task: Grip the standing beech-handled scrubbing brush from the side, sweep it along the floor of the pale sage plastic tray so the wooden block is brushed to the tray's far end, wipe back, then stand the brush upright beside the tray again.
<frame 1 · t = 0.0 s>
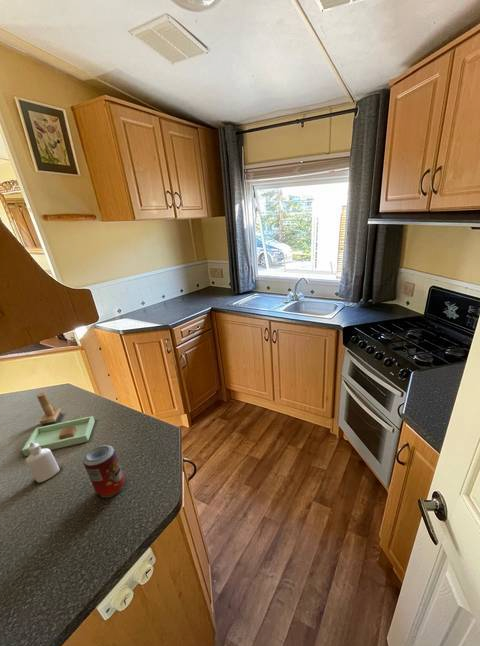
soda can: (112, 488, 77), on the countertop
tray: (62, 437, 97), on the countertop
eye dropper bottle: (48, 475, 82), on the countertop
wooden block: (68, 434, 98), point 1 cm above the countertop, touching tray
brush: (53, 421, 106), on the countertop
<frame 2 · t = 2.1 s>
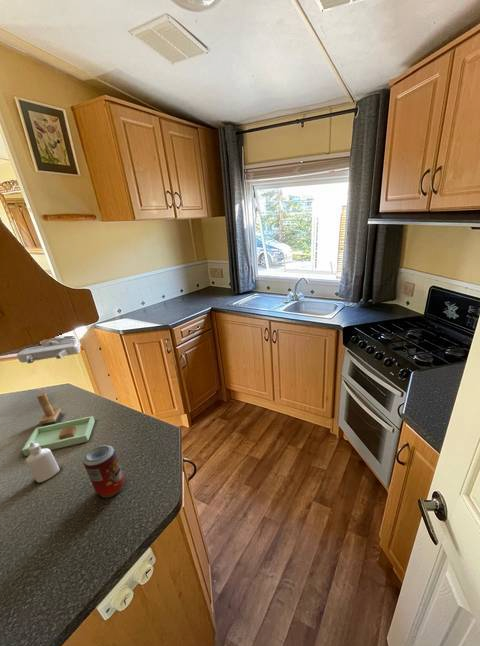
hand: (43, 359, 108), 20 cm above the countertop, tool horizontal, fingers open, 8 cm apart
nothing on the countertop moved.
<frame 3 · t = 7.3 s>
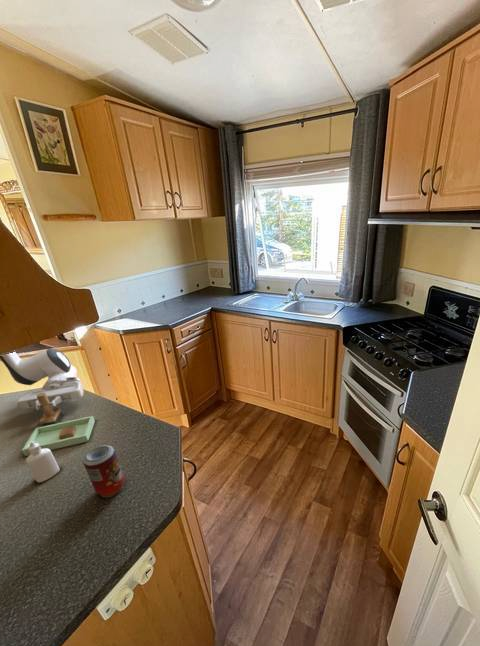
hand: (45, 406, 102), 7 cm above the countertop, tool horizontal, fingers closed on brush, 2 cm apart
brush: (53, 421, 106), on the countertop, touching gripper
everything else where it was.
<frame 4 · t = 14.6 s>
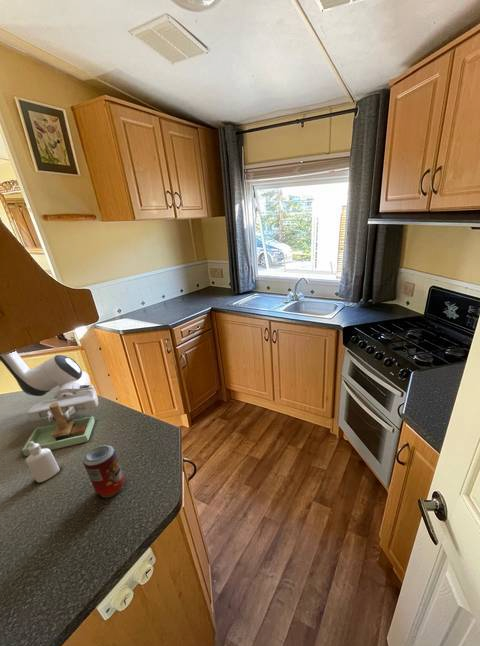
hand: (58, 418, 94), 8 cm above the countertop, tool horizontal, fingers closed on brush, 2 cm apart
wooden block: (80, 431, 99), point 1 cm above the countertop, touching tray
brush: (66, 434, 97), point 1 cm above the countertop, touching gripper
everything else where it was.
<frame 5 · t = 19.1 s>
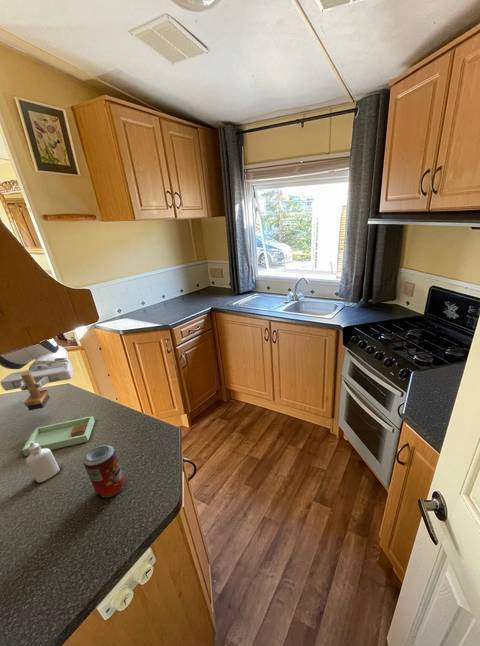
hand: (30, 387, 95), 17 cm above the countertop, tool horizontal, fingers closed on brush, 2 cm apart
brush: (39, 403, 98), point 10 cm above the countertop, touching gripper
everything else where it was.
when the fingers open (7 cm above the countertop, at t = 22.7 s): brush stays where it is, on the countertop.
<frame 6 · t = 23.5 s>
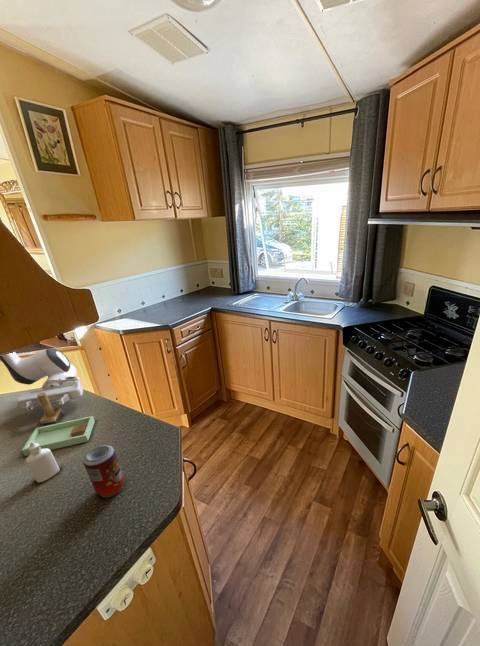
hand: (44, 406, 102), 7 cm above the countertop, tool horizontal, fingers open, 8 cm apart
brush: (53, 421, 106), on the countertop
everything else where it was.
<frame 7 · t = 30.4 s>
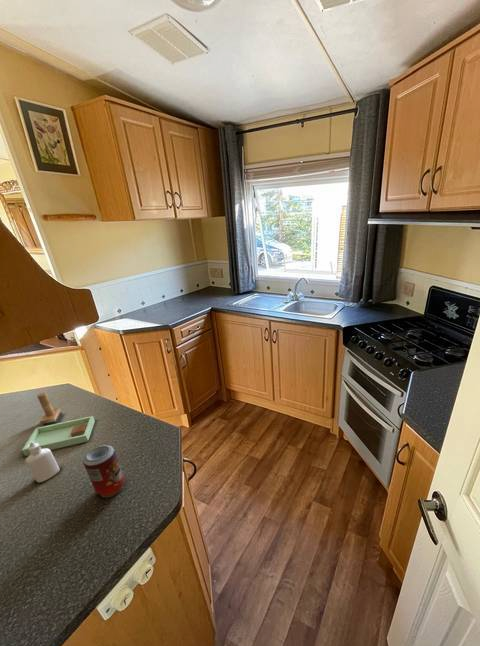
nothing on the countertop moved.
at the end: wooden block inside the target area in the tray (1.1 cm from its centre), point 0.6 cm above the tray's base; brush inside the target area (0.4 cm from its centre), on the countertop; brush tilted 0° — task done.
